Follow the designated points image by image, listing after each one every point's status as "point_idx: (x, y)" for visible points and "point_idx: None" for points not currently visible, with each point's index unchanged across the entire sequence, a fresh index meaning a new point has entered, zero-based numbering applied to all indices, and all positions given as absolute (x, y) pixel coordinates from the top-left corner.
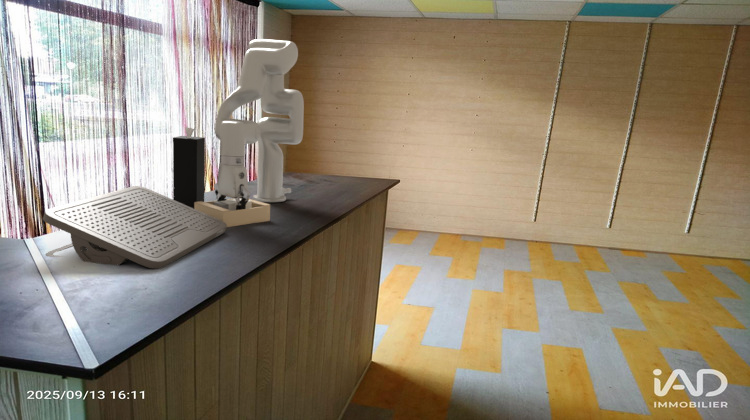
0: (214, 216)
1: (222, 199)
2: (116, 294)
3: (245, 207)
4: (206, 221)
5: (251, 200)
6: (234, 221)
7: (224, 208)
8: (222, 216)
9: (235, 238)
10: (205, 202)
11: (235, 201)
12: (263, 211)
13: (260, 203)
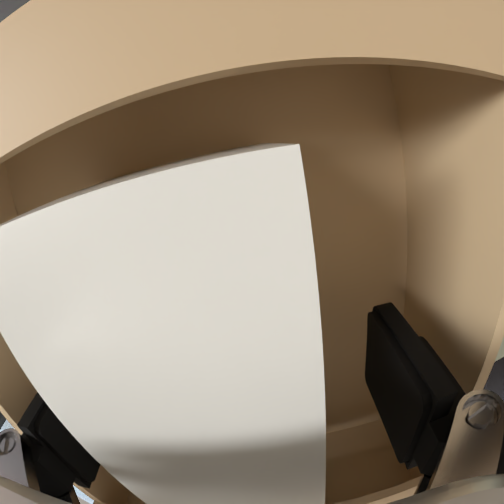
0: (327, 482)
1: (61, 464)
2: None
3: (438, 363)
4: None
5: (36, 52)
6: None
7: (377, 500)
8: (408, 472)
9: (492, 385)
10: (88, 491)
11: (211, 459)
12: (476, 97)
13: (413, 9)
